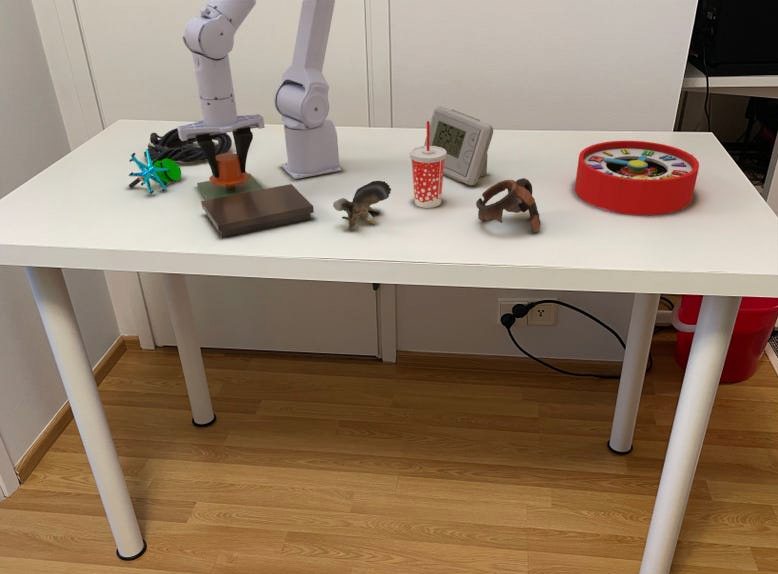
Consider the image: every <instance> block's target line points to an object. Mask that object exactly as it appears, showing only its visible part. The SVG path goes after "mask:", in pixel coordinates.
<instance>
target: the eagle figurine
mask: <svg viewBox="0 0 778 574" xmlns="http://www.w3.org/2000/svg"><path fill="white" fill-rule="evenodd" d="M391 191H392V188H391V187H390V185H389V184H388V182H386V181H383V180H372V181H370V182H369V183H367V184H364V185H363V186H361V187H359V188H357V189H356V191H355V192H354V193H355V194H354V195H353V197H352V201H349V200H348V199H347V198H345V197H342V198H339V199H337V200H334V202H333V204H332V206H333V208H334V209H335V210H336V211H338V212H342V211H343V212H346V214H347V216H341V219H343V220H347V221H348V231H351V230H352V229H353V227H355V226H356V224H357V223H356V222H357V219H359V218H361V219H363V220H367V221H368V222H370V223H372V225H374V226H375V225H376V222H375V218H374V217H373V216H372V214H371V213H370V212H375V213H381V211H380V210H378V209H374V208H372V207H371V206H372V205H375V204H378V203H379V202H383V201H385V200H387V199H388V198H390V194H392V193H391Z"/></svg>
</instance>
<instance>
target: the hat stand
mask: <svg viewBox="0 0 778 574" xmlns="http://www.w3.org/2000/svg"><path fill="white" fill-rule="evenodd" d="M248 174H249V175H250V179H249V180H247V181H246V182H245V183H242V184H239V185H233V186H218V185H214V184H212V183H211V181H210V180H206V181H201V182H197V183H196V186H197V189H198V191H200V194H201V195H202V196H203V197H204V200H209V199H215V198H220V197H225V196H231V195H236V194H241V193H246V192H252V191H257V190H262V189H264V188H263V187H262V185H261V184H260V183H259V182H258V181H257V180H256V179H255V177H254V176H252V174H251V173H248Z"/></svg>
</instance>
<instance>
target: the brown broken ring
mask: <svg viewBox="0 0 778 574" xmlns="http://www.w3.org/2000/svg"><path fill="white" fill-rule="evenodd" d="M506 190H507V194H506V195H504V196H503V197H502V198H500V199H499V200H498V201H496V202H493V203H491V204H487V203H488V202H489V201H490V200H491V199H492V198H493V197H495V196H497V195H498V194H500V193H502V192H505V191H506ZM481 196H482V198H483V199H482V198H481V197H479V198H478V200H477V201H476V202H475V205H476V208H477V209H478V212H477V218H478V220H479V221H481V222H491V221H497V222H499V223H503V213H504V210H505V211H506V212H508V213H515V214H519V213H526V212H527V211H528V213H529V220H530V222H529V224H530V226H531V227H532V233H533V234H536V233H537V232H538V231H539V229H540V227H541V219H540V213H539V211H538V205H537V202H536V200H535V197H534V196H533V185H532V183H531V182H530V180H529V179H527V178H524V177H523V178H522V177H521V178H518V179H517V180H514V179H504V180H501V181H499V182H497V183H495V184H493V185H491V186H490V187H488V188H487V189H486V190H485V191H484V192H482V194H481ZM486 204H487V205H486Z"/></svg>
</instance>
